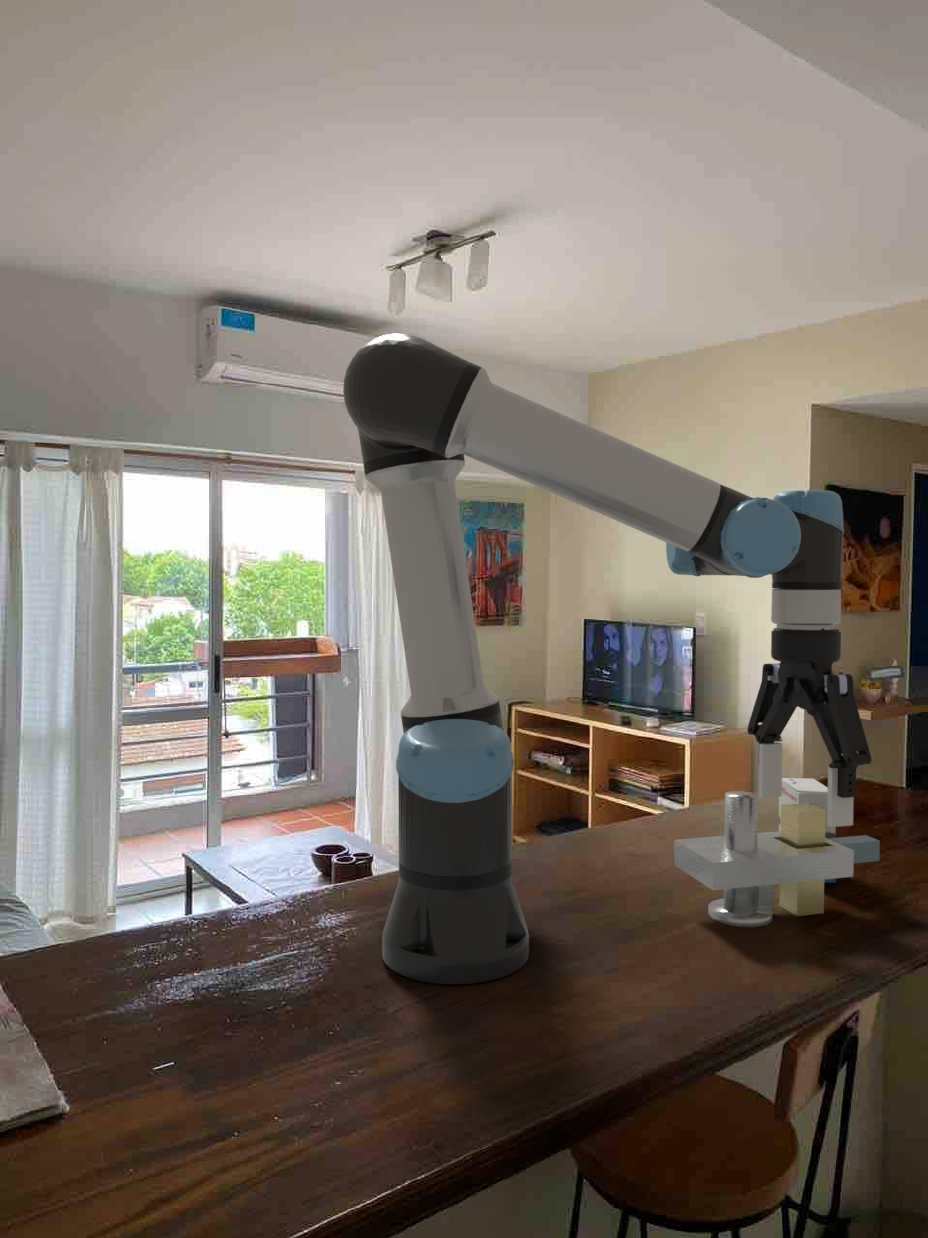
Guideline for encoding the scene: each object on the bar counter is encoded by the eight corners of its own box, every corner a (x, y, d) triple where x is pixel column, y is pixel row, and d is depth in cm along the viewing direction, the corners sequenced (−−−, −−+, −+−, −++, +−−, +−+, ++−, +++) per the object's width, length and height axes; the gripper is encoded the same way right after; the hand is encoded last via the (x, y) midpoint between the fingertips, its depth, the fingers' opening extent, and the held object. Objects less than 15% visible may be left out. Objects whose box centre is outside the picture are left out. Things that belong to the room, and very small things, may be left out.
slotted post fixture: (712, 936, 101) (713, 808, 101) (673, 907, 110) (674, 789, 109) (897, 915, 107) (900, 794, 107) (847, 889, 116) (849, 777, 115)
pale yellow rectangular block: (796, 916, 107) (798, 812, 107) (779, 905, 111) (780, 805, 110) (823, 913, 108) (825, 810, 107) (805, 902, 111) (807, 803, 111)
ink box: (837, 884, 118) (839, 791, 117) (797, 884, 118) (799, 791, 117) (813, 863, 127) (814, 776, 126) (776, 863, 127) (777, 776, 126)
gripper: (910, 633, 96) (906, 837, 98) (773, 620, 120) (771, 784, 122) (847, 634, 95) (843, 842, 96) (720, 621, 119) (718, 787, 120)
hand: (803, 810), depth 109 cm, fingers open, 13 cm apart
